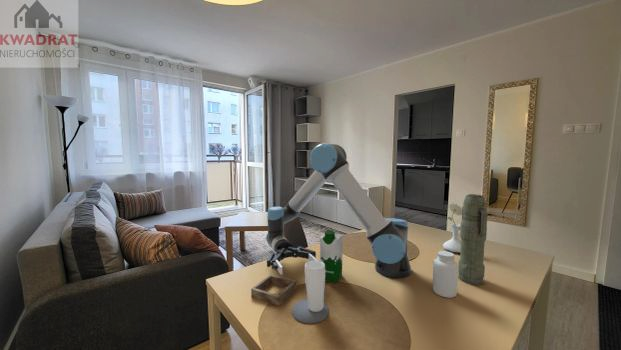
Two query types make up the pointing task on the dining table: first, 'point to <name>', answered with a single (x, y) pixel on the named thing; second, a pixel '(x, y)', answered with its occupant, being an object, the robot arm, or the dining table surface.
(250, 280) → the dining table surface
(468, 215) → the thermos
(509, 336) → the dining table surface
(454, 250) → the flower in vase
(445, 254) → the pill bottle
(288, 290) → the walnut collar
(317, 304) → the drinking glass
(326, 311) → the rubber coaster
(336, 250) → the milk carton
